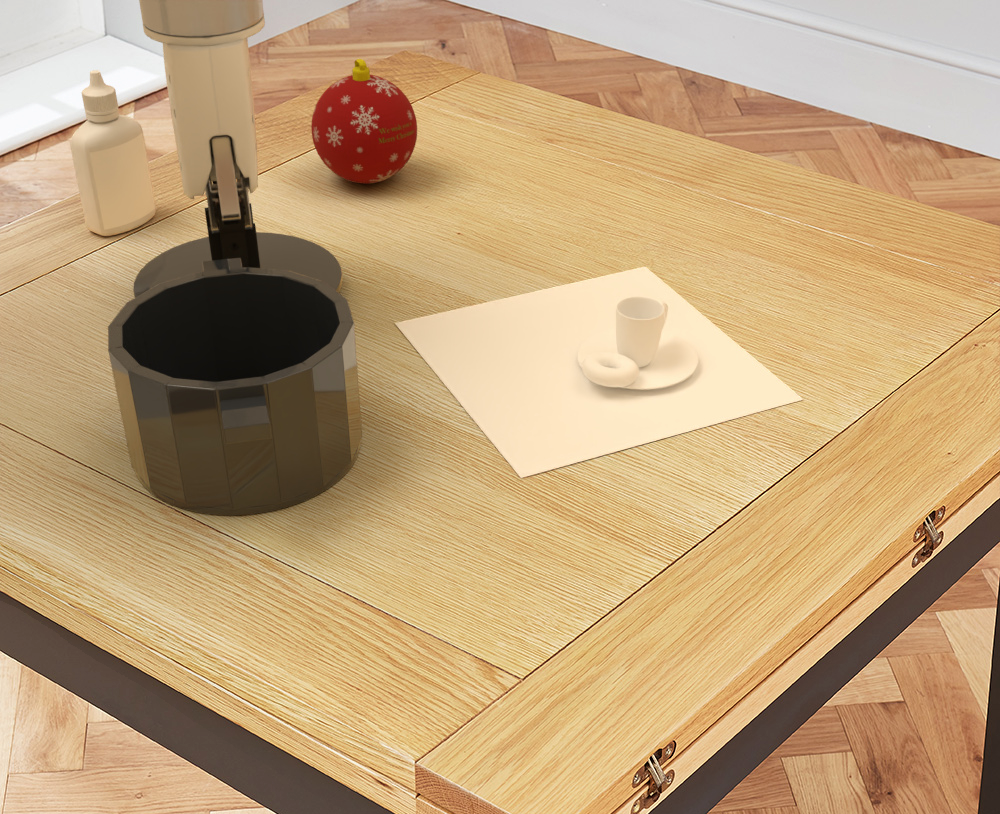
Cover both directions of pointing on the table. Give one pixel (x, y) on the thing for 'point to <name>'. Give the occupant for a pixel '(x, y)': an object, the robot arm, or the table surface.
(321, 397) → the dark grey open cylinder
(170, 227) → the table surface
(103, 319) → the table surface
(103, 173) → the eye dropper bottle
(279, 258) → the lid
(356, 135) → the christmas ornament
